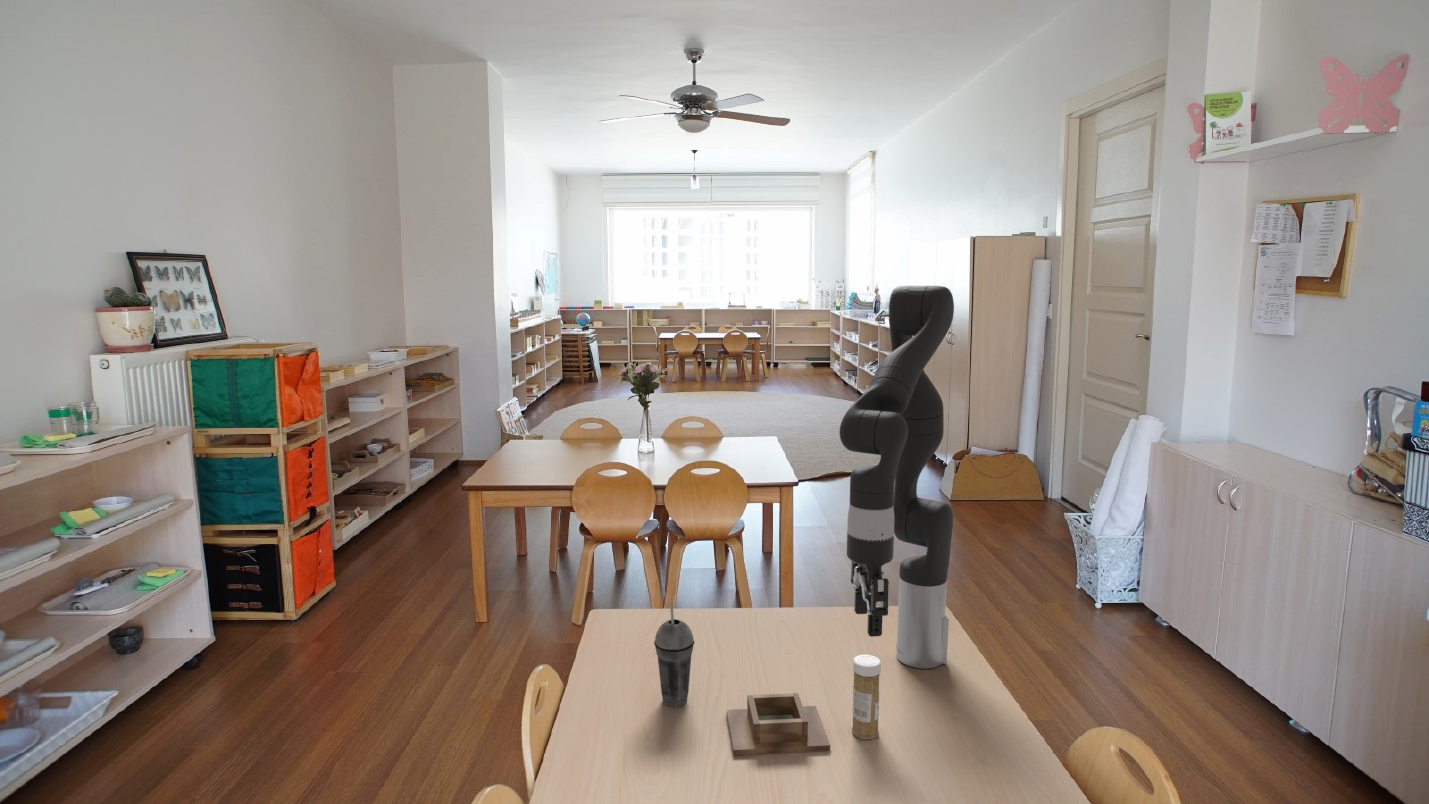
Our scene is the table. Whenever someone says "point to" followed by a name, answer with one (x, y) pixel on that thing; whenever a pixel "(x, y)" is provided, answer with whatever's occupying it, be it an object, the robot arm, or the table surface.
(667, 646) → the beverage cup
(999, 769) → the table surface
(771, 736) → the wooden square holder
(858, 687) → the sprinkles bottle
